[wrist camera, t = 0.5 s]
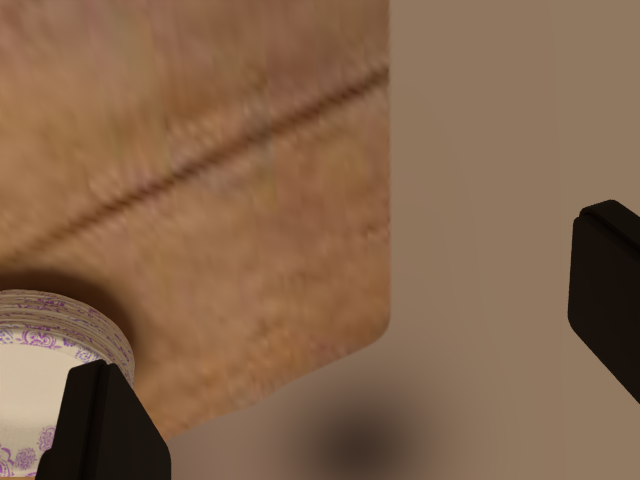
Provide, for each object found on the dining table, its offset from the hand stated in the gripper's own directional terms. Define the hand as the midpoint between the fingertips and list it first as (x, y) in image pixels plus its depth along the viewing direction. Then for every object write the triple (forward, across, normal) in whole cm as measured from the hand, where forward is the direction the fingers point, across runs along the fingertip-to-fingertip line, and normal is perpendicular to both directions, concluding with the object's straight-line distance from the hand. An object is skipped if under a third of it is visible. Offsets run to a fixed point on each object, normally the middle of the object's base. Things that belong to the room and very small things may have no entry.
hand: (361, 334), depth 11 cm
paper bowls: (+31, +22, +20) cm, 43 cm away
